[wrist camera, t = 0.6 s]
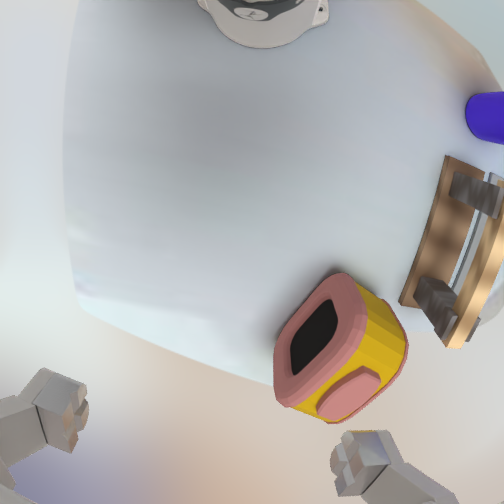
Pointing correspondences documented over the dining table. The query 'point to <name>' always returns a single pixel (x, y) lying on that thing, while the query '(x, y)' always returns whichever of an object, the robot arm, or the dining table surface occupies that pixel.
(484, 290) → the rail
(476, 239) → the mat
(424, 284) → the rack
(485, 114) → the bottle
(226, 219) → the dining table surface
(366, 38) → the dining table surface
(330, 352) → the alarm clock
